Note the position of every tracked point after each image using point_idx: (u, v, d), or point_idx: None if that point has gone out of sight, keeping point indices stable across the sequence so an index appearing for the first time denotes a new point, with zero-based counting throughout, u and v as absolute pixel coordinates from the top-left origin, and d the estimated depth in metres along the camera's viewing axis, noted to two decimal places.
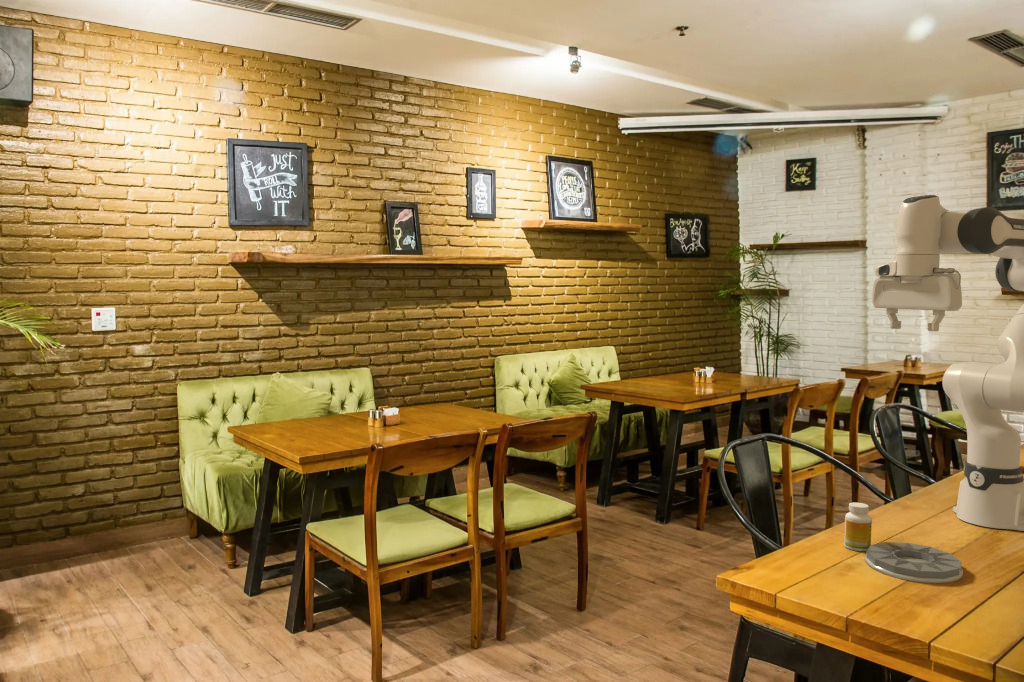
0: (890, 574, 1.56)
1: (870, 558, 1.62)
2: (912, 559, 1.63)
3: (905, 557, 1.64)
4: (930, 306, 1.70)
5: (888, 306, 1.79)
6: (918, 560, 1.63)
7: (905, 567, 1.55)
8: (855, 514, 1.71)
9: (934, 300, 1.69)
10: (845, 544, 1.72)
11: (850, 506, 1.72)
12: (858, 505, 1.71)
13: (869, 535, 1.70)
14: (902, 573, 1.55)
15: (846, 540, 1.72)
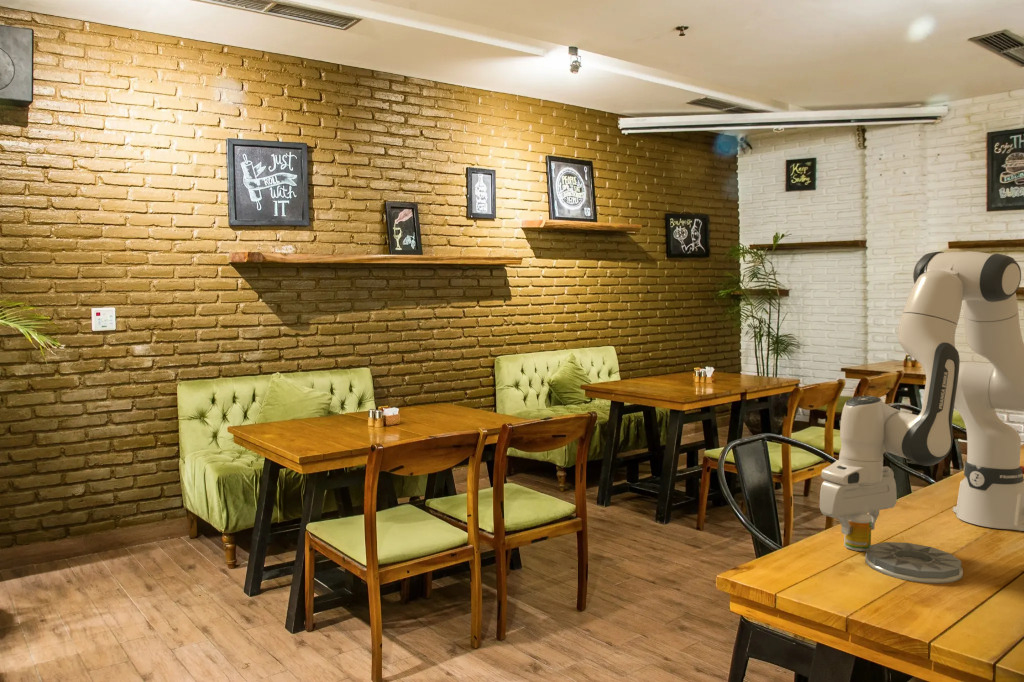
0: (890, 574, 1.56)
1: (870, 558, 1.62)
2: (912, 559, 1.63)
3: (905, 557, 1.64)
4: (882, 506, 1.72)
5: (847, 514, 1.68)
6: (918, 560, 1.63)
7: (905, 567, 1.55)
8: (855, 514, 1.71)
9: (885, 500, 1.73)
10: (845, 544, 1.72)
11: None
12: None
13: (869, 535, 1.70)
14: (902, 573, 1.55)
15: (846, 540, 1.72)
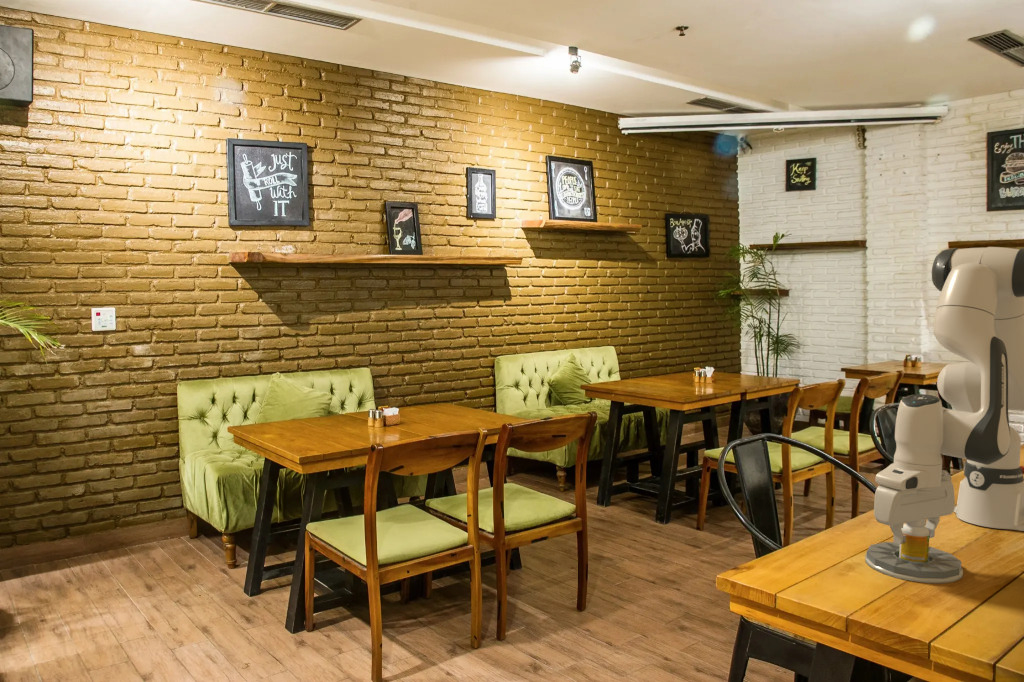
0: (890, 574, 1.56)
1: (870, 558, 1.62)
2: None
3: None
4: (939, 513, 1.61)
5: (904, 521, 1.57)
6: None
7: (905, 567, 1.55)
8: (912, 527, 1.59)
9: (942, 506, 1.61)
10: None
11: None
12: None
13: (927, 549, 1.59)
14: (902, 573, 1.55)
15: (901, 555, 1.61)
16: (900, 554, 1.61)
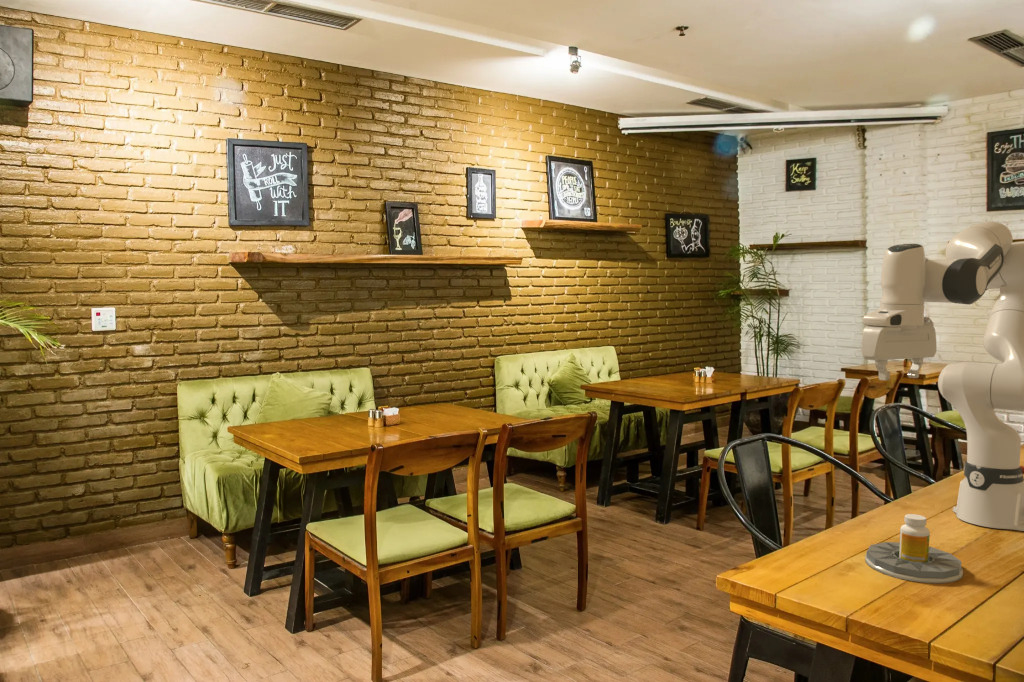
0: (890, 574, 1.56)
1: (870, 558, 1.62)
2: None
3: None
4: (922, 354, 1.74)
5: (889, 357, 1.70)
6: None
7: (905, 567, 1.55)
8: (912, 527, 1.59)
9: (925, 348, 1.75)
10: None
11: (906, 518, 1.60)
12: (915, 517, 1.60)
13: (927, 549, 1.59)
14: (902, 573, 1.55)
15: (901, 555, 1.61)
16: (900, 554, 1.61)
